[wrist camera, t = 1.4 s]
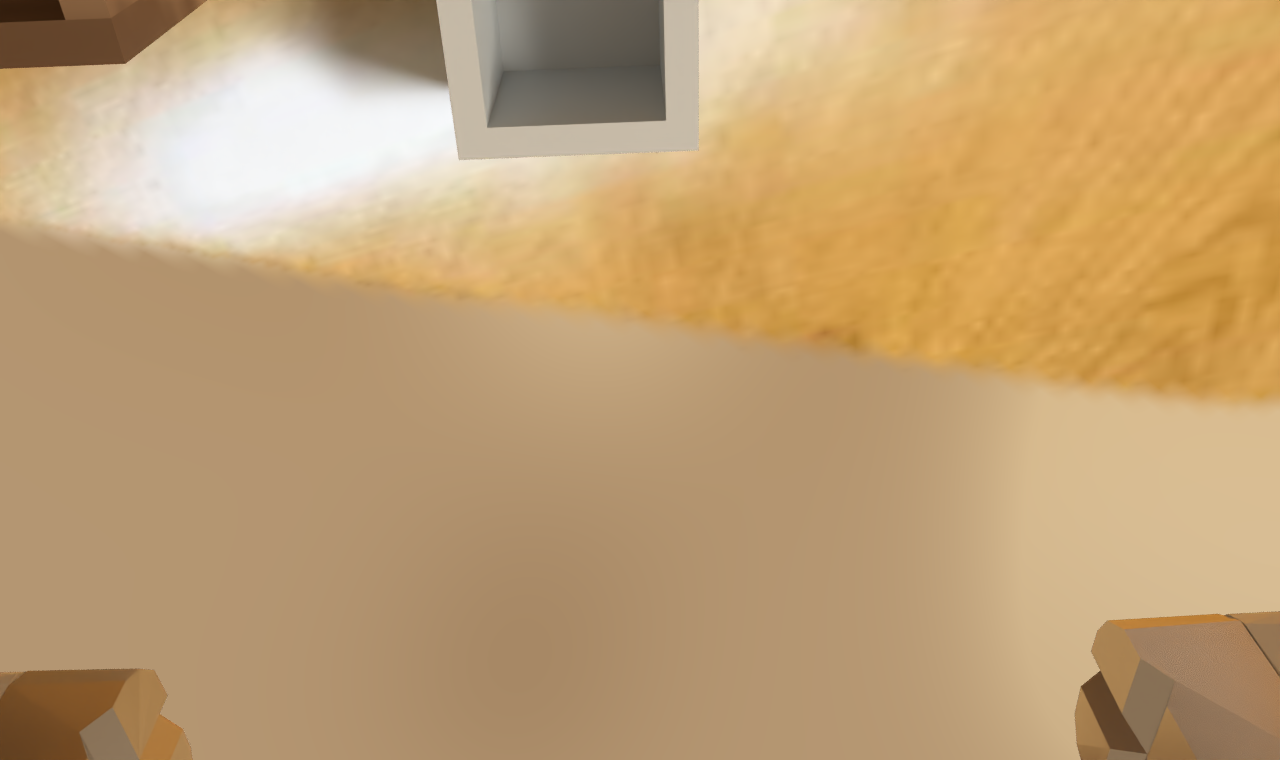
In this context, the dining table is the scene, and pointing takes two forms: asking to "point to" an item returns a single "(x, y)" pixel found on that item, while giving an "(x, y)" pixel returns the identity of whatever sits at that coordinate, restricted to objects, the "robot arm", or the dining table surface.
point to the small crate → (571, 76)
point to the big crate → (83, 30)
